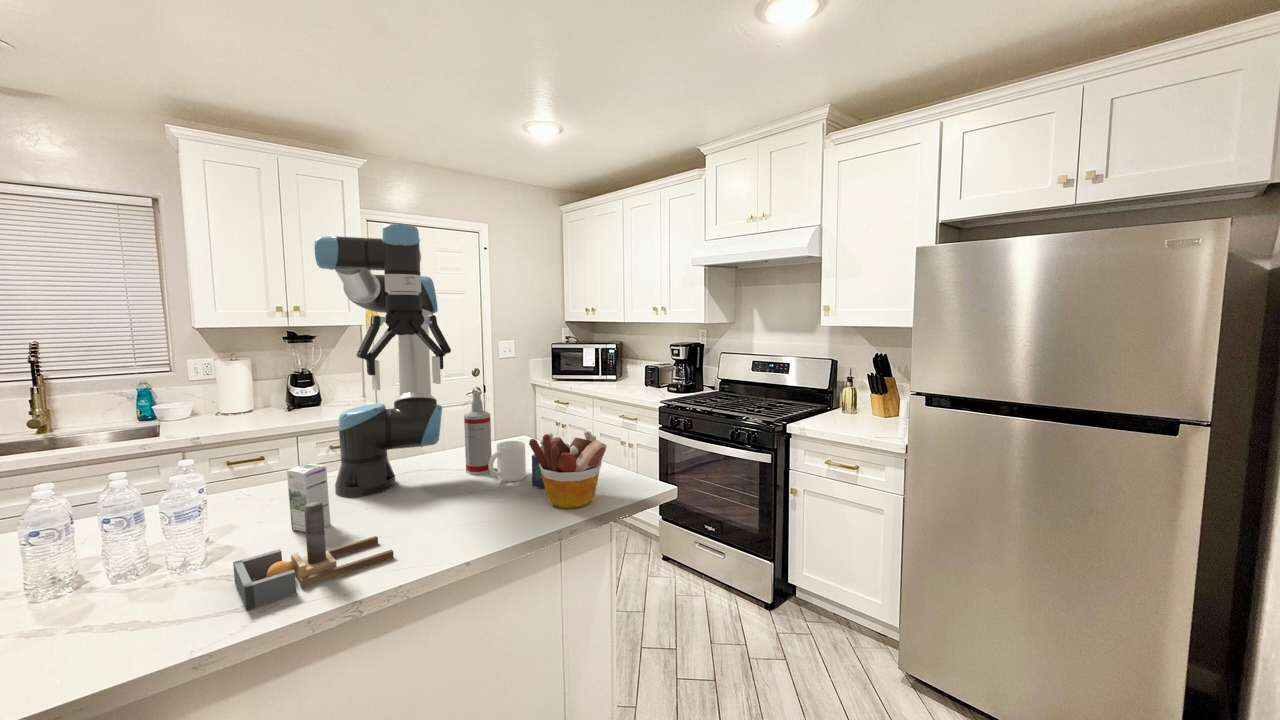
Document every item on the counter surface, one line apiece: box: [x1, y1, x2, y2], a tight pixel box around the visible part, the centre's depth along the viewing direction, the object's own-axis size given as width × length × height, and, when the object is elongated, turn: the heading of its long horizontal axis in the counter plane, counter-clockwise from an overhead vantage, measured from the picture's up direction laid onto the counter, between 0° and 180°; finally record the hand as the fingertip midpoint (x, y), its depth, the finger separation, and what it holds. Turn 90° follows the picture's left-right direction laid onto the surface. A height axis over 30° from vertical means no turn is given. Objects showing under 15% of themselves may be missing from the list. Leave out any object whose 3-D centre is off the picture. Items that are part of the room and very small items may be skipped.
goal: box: [232, 548, 297, 611], centre depth 92 cm, size 12×7×4 cm, turn 45°
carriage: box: [290, 502, 338, 582], centre depth 98 cm, size 7×6×13 cm
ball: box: [266, 560, 293, 578], centre depth 94 cm, size 4×4×4 cm
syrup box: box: [286, 463, 331, 534], centre depth 118 cm, size 6×6×14 cm
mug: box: [489, 440, 527, 483], centre depth 152 cm, size 12×8×10 cm
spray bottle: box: [463, 392, 493, 476], centre depth 159 cm, size 8×8×25 cm
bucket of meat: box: [528, 431, 607, 510], centre depth 133 cm, size 20×16×20 cm
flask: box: [531, 453, 545, 490], centre depth 145 cm, size 9×3×11 cm, turn 61°
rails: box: [288, 535, 395, 589], centre depth 102 cm, size 10×16×2 cm, turn 135°
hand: (407, 386), depth 118 cm, fingers open, 13 cm apart
